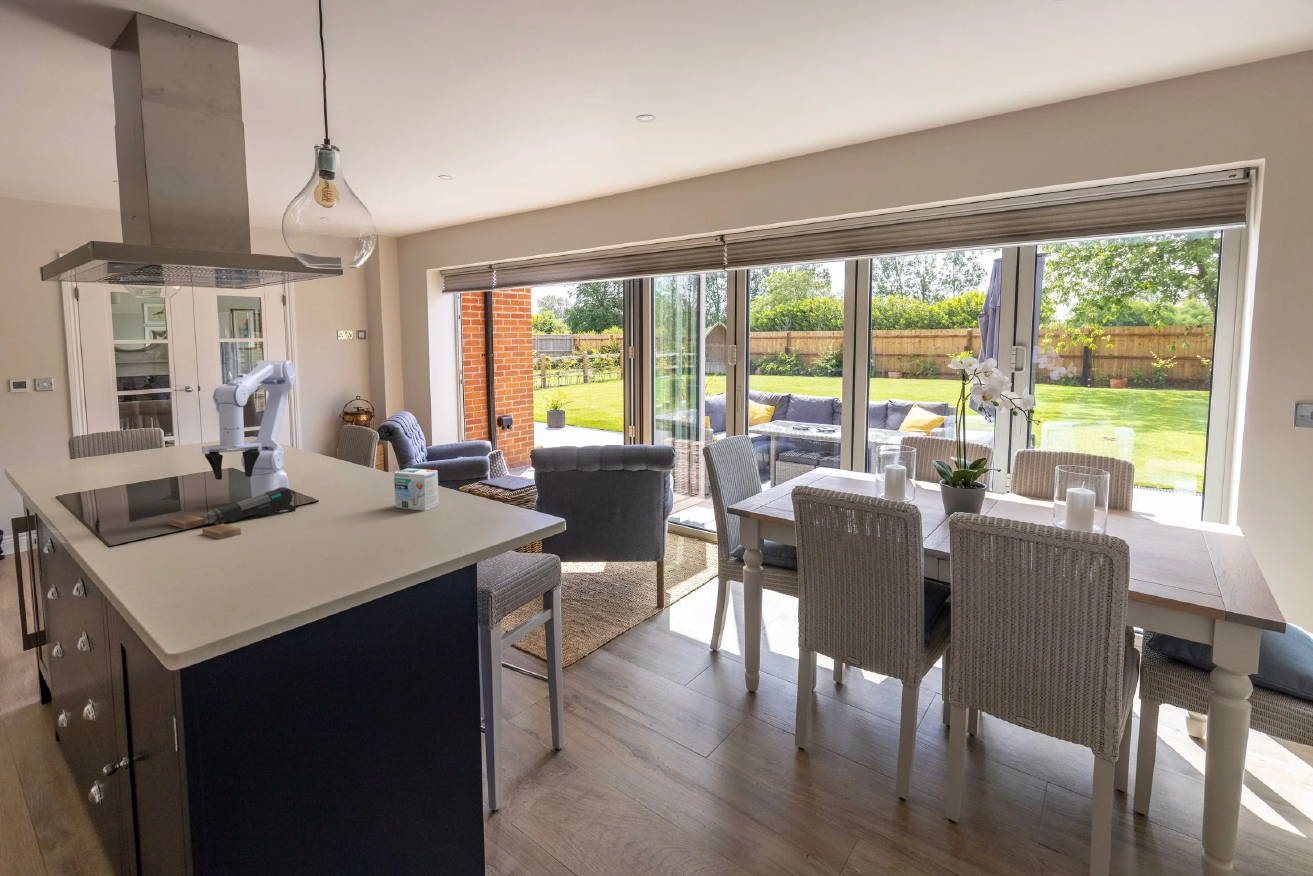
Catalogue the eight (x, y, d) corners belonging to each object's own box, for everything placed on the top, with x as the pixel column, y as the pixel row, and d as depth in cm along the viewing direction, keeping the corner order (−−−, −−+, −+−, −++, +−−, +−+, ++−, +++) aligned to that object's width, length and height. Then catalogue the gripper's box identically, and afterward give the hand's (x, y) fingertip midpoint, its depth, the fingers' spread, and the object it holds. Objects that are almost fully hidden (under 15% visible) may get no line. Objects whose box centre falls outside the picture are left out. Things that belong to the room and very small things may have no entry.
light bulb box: (394, 508, 195) (392, 472, 194) (409, 502, 202) (407, 467, 200) (426, 511, 192) (424, 474, 190) (440, 505, 199) (438, 469, 197)
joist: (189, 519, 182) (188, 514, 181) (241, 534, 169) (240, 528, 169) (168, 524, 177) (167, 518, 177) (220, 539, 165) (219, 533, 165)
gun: (301, 510, 191) (285, 480, 187) (228, 547, 179) (209, 516, 175) (295, 507, 194) (280, 477, 190) (223, 544, 182) (205, 512, 178)
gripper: (209, 430, 176) (211, 481, 177) (266, 428, 188) (268, 476, 189) (197, 429, 180) (199, 479, 181) (253, 427, 192) (255, 474, 193)
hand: (233, 477), depth 185 cm, fingers open, 7 cm apart
